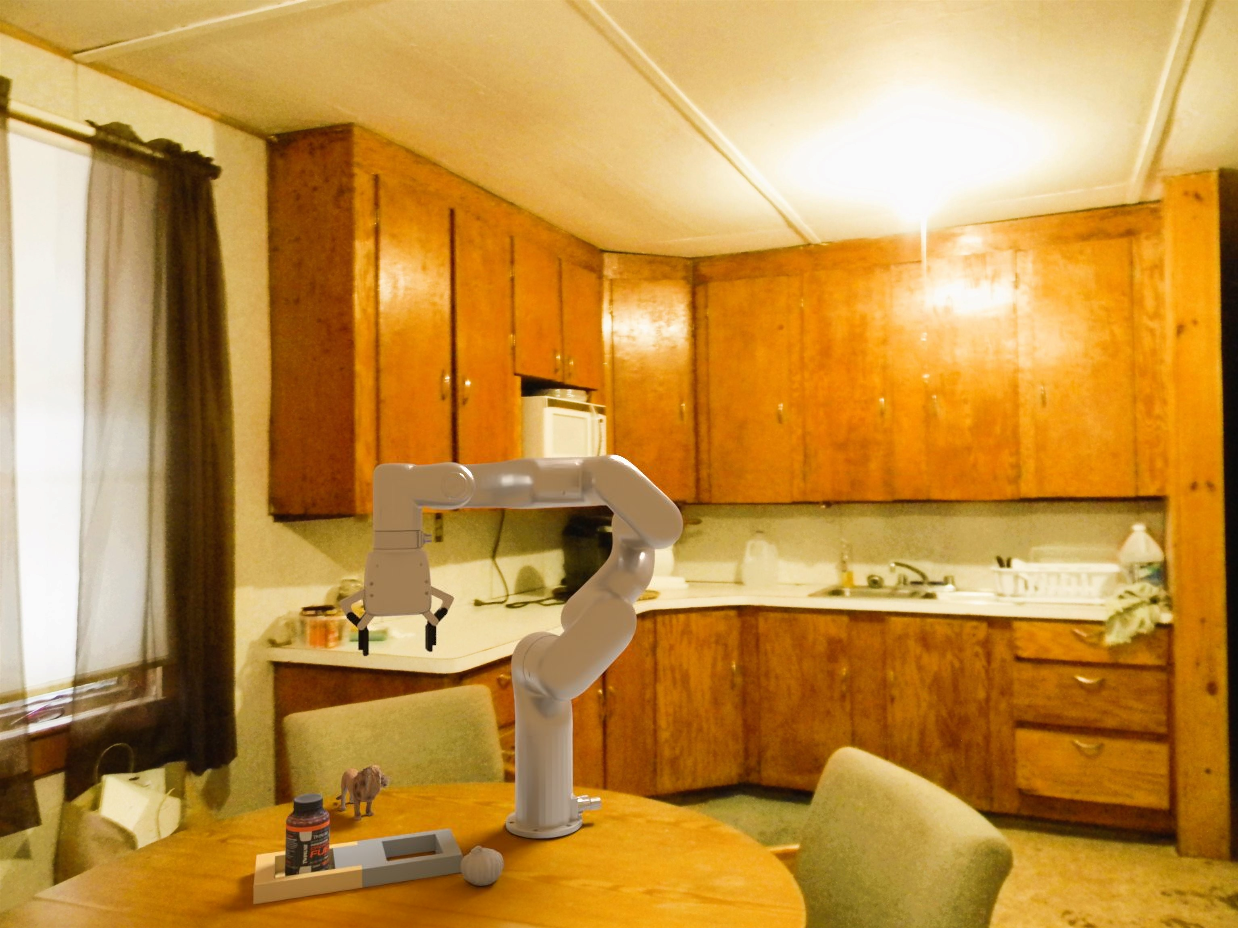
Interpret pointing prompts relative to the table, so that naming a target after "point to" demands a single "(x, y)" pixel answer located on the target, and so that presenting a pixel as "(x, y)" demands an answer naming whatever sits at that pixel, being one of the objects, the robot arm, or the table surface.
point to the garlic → (482, 866)
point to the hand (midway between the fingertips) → (397, 652)
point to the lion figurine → (362, 788)
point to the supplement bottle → (307, 836)
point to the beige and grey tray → (360, 866)
